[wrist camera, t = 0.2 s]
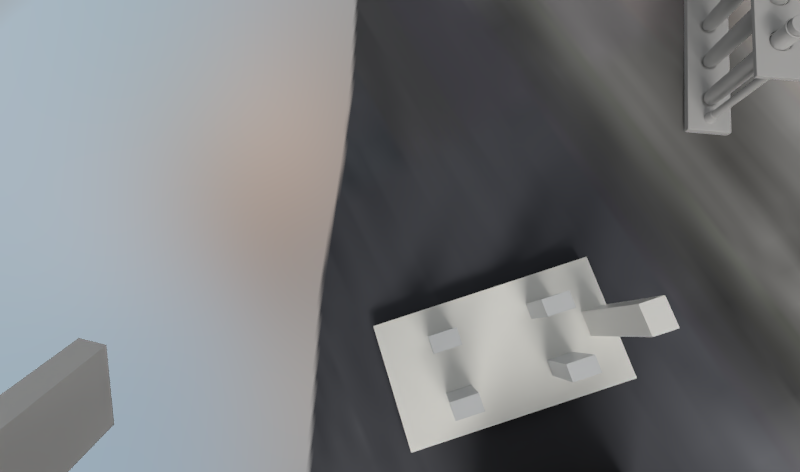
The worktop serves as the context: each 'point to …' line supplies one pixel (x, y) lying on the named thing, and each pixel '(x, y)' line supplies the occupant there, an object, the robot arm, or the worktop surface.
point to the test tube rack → (714, 42)
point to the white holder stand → (511, 351)
